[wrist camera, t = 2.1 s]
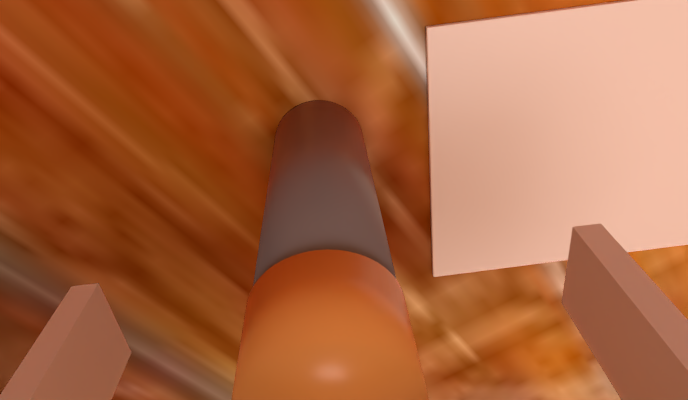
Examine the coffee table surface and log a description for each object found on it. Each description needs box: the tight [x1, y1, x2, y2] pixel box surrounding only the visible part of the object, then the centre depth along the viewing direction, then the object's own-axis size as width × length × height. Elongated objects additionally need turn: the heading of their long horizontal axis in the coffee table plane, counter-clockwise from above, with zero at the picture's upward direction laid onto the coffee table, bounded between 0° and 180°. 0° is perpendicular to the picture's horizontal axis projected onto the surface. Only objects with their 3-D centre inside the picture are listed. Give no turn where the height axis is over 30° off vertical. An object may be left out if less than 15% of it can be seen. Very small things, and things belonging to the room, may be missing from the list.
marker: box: [232, 100, 428, 400], centre depth 17 cm, size 4×4×14 cm
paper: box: [426, 0, 688, 277], centre depth 23 cm, size 18×13×1 cm
